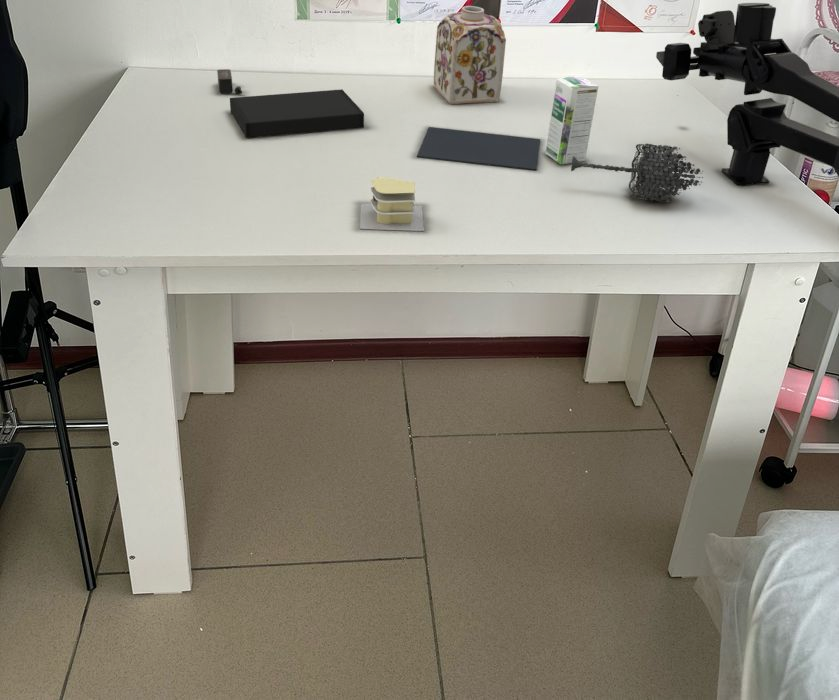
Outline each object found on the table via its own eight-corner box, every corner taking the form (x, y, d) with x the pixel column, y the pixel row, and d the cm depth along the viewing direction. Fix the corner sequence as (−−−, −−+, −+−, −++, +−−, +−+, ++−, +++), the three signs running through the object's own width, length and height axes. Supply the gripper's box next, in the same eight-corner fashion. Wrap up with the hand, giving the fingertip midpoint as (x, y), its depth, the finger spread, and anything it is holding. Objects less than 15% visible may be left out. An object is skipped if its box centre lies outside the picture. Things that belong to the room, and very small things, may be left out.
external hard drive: (230, 112, 180) (229, 97, 178) (342, 103, 187) (342, 88, 186) (246, 138, 169) (245, 123, 167) (364, 128, 177) (364, 113, 175)
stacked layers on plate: (421, 206, 149) (423, 175, 146) (423, 231, 142) (425, 199, 139) (361, 204, 149) (361, 172, 146) (359, 229, 141) (360, 196, 138)
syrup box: (543, 153, 171) (554, 77, 162) (570, 150, 173) (582, 74, 165) (559, 165, 167) (571, 87, 158) (586, 161, 169) (599, 84, 161)
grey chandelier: (568, 178, 162) (576, 127, 157) (693, 191, 160) (705, 141, 155) (567, 200, 154) (576, 148, 149) (698, 214, 152) (711, 162, 147)
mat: (540, 140, 176) (540, 139, 176) (536, 170, 164) (536, 169, 164) (428, 128, 178) (428, 126, 178) (416, 157, 166) (416, 155, 166)
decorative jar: (432, 86, 199) (437, 1, 189) (481, 84, 202) (489, 0, 192) (449, 105, 190) (456, 17, 179) (501, 102, 193) (510, 15, 183)
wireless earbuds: (219, 96, 187) (218, 80, 185) (218, 84, 192) (217, 69, 191) (242, 95, 188) (241, 80, 186) (240, 84, 193) (239, 69, 192)
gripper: (779, 12, 163) (717, 5, 175) (700, 19, 155) (641, 11, 168) (770, 76, 168) (710, 64, 180) (693, 86, 160) (635, 73, 173)
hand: (675, 52), depth 175 cm, fingers open, 9 cm apart
